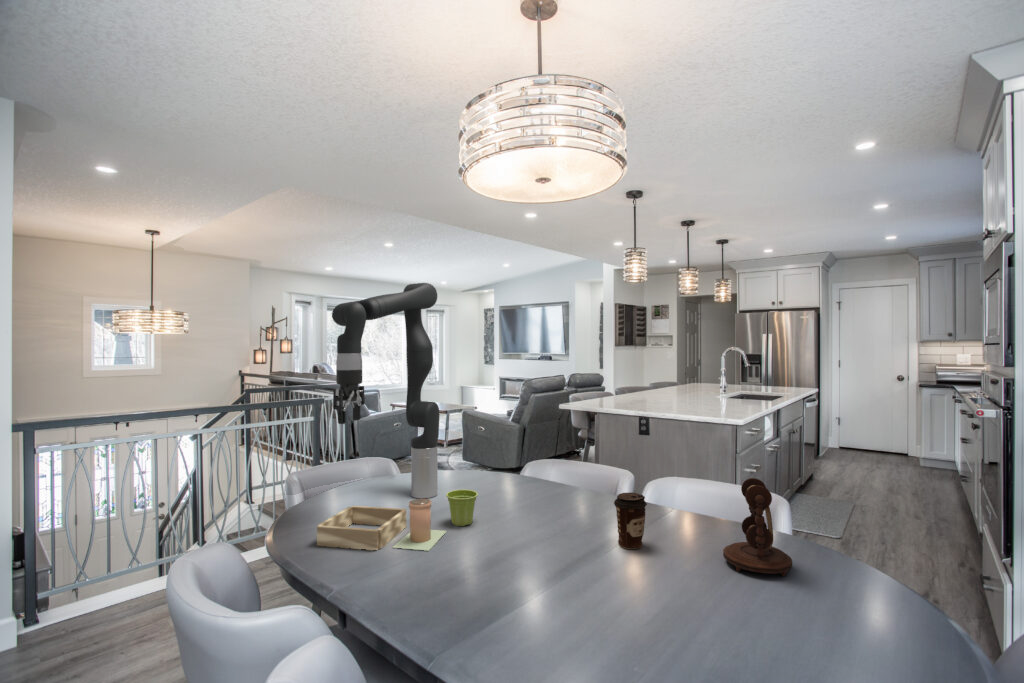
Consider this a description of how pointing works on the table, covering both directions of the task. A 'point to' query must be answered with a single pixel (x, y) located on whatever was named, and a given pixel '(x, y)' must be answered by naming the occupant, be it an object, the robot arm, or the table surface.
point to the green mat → (425, 546)
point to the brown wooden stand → (757, 535)
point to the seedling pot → (420, 520)
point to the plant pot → (462, 506)
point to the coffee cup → (630, 519)
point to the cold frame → (342, 536)
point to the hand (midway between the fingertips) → (349, 421)
